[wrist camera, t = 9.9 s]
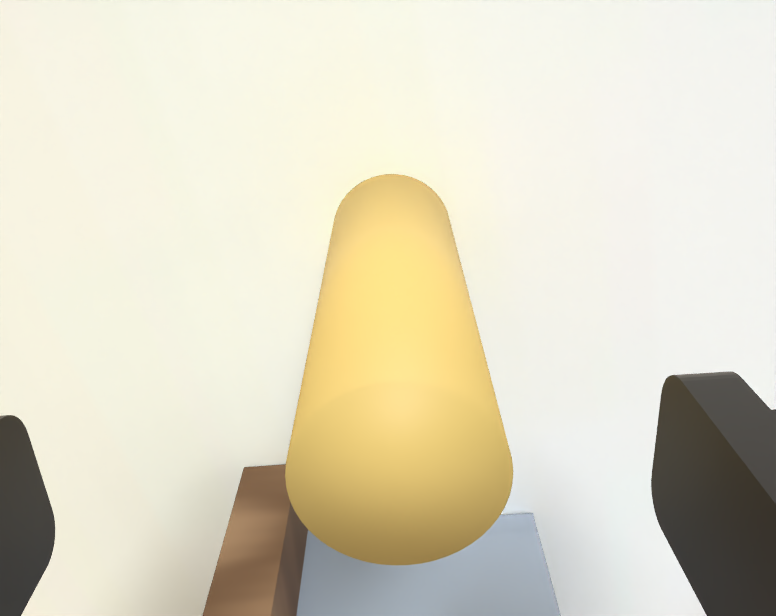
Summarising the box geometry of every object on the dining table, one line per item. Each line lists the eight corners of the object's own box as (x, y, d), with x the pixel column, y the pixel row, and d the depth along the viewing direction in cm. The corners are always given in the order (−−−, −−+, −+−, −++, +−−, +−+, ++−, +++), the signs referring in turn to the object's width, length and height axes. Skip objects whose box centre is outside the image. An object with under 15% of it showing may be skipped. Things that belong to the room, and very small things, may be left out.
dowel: (447, 169, 18) (512, 372, 9) (453, 280, 19) (514, 558, 10) (326, 179, 18) (269, 390, 9) (340, 289, 19) (301, 572, 10)
